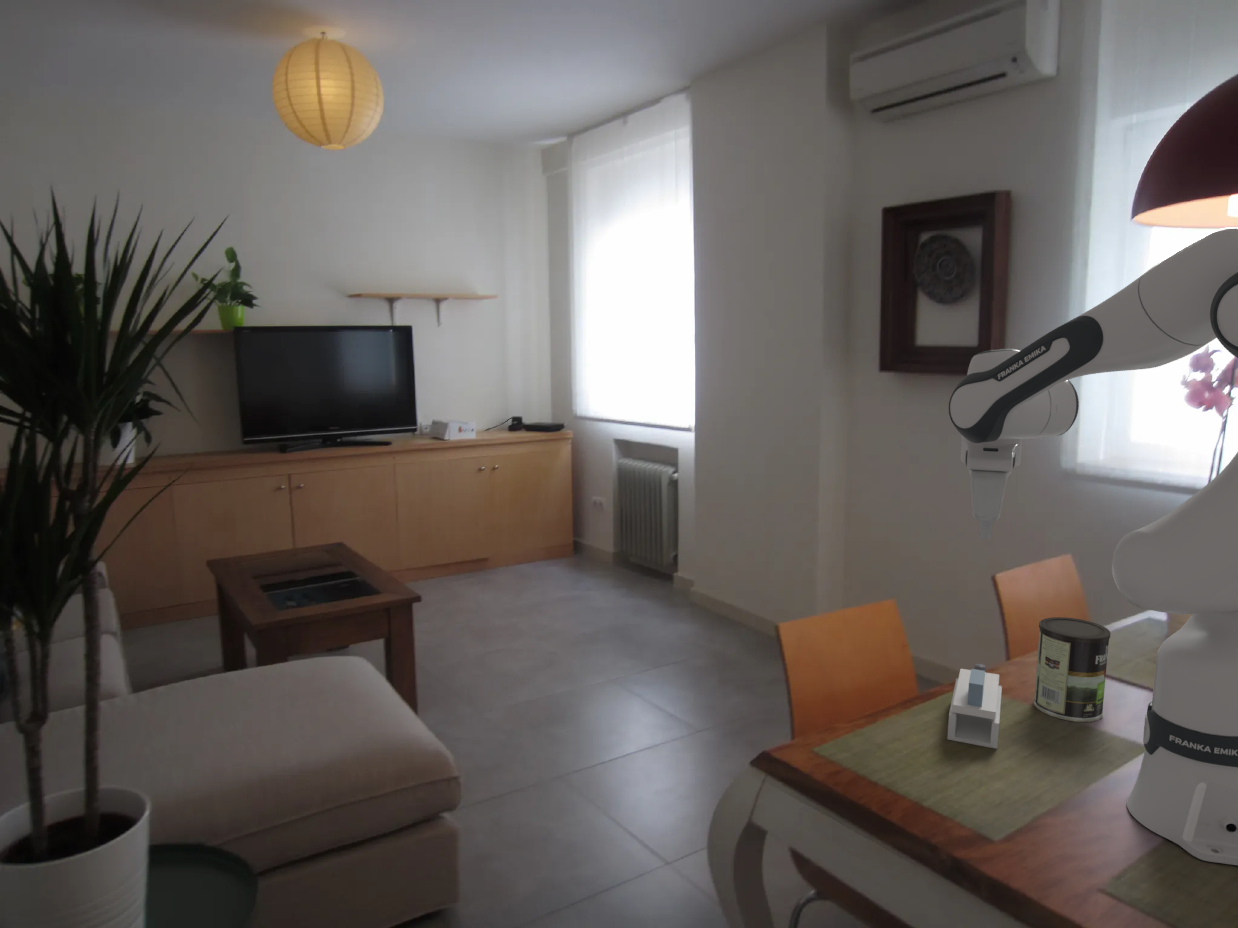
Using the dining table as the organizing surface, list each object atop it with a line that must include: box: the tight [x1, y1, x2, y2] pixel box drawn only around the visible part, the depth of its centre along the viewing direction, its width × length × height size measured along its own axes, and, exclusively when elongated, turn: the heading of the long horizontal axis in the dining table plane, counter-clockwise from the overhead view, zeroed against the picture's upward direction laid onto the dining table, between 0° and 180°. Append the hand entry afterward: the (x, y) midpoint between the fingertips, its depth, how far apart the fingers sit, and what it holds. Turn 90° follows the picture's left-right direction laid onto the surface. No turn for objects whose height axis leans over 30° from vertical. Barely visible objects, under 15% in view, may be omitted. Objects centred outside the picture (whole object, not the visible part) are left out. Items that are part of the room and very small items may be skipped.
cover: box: [952, 663, 1000, 720], centre depth 136 cm, size 6×17×9 cm, turn 154°
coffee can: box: [1033, 617, 1111, 723], centre depth 140 cm, size 10×10×14 cm
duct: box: [947, 678, 1003, 750], centre depth 135 cm, size 7×15×4 cm, turn 155°
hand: (984, 537), depth 137 cm, fingers closed
